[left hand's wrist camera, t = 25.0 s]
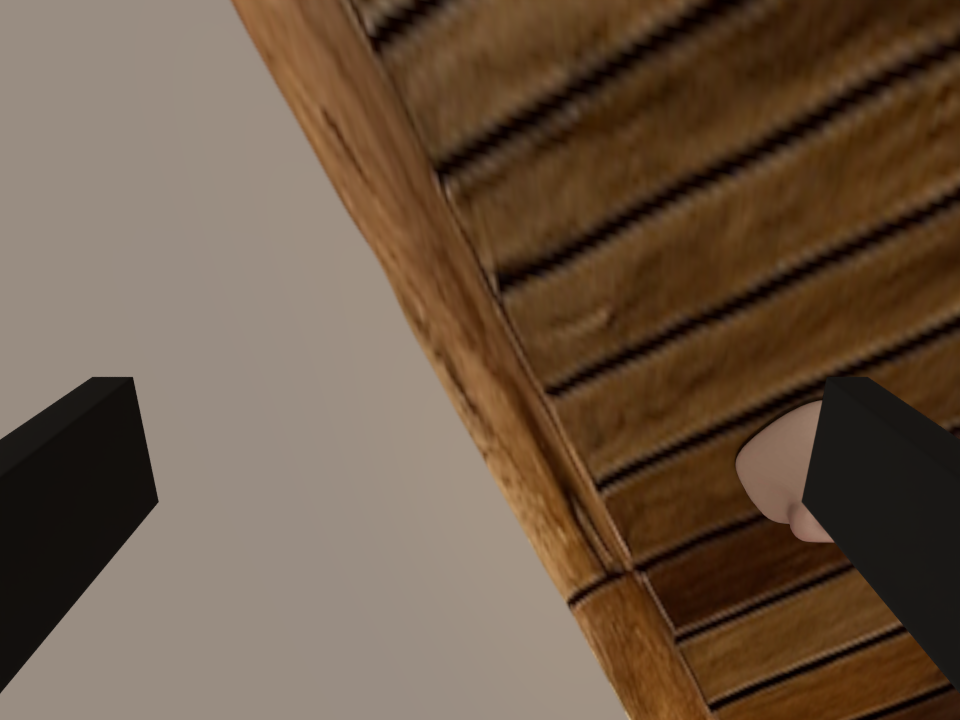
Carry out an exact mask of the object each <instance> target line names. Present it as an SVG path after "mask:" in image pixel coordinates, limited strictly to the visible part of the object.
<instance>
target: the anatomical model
mask: <svg viewBox="0 0 960 720" xmlns="http://www.w3.org/2000/svg"><path fill="white" fill-rule="evenodd" d="M821 404H822V400H820V401H816V402H812V403H809V404H806V405H803V406H801V407H799V408H797V409H795V410H793V411H790V412H789V413H787V414H785V415H784V416H782V417H780V418H779V419H777V420H776V421H774V422H773V423H772V424H770V425H769V426H767V427H766V428H765V429H763V430H762V431H761V432H760V433H758V434H757V435H756V436H755V437H754V438H753V439H751V440H750V441H749V442H748V443H747V444H746V445H745V446H744V447H743V448H742V450H741V451H740V453H739V454H738V456H737V459H736V470H737V473H738V476H739V479H740V481H741V483H742V484H743V486H744V488H745V490H746V492H747V493H748V495H749V497H750V498H751V500H752V501H753V503H754V504H755V505H756V506H757V507H758V508H759V510H760V511H761V512H762V513H763V514H764V515H765V516H766V517H768V518H769V519H771V520H773V521H776V522H779V523H787V524H790V527H791V530H792V532H793V533H794V535H795V536H796V537H797V538H799V539H800V540H803V541H807V542H834V541H833V540H832V538H831V537H830V536H829V535H828V534H827V532H826V531H825V530H824V529H823V527H822V526H821V525H820V524H819V523H818V521H817V520H816V519H815V518H814V517H813V515H812V514H811V513H810V512H809V511H808V509H807V508H806V507H805V506H804V505H803V503H802V502H801V501H802V497H803V492H804V487H805V482H806V477H807V472H808V467H809V463H810V458H811V453H812V448H813V443H814V438H815V433H816V429H817V424H818V419H819V414H820V409H821Z"/></svg>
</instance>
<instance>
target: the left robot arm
mask: <svg viewBox="0 0 960 720" xmlns="http://www.w3.org/2000/svg"><path fill="white" fill-rule="evenodd" d="M158 502H159V501H158V497H157V492H156V487H155V482H154V477H153V472H152V467H151V463H150V458H149V453H148V448H147V443H146V438H145V433H144V429H143V424H142V419H141V414H140V409H139V404H138V400H137V395H136V390H135V385H134V380H133V377H92V378H90V379H89V380H87V381H86V382H84V383H83V384H81V385H80V386H78V387H77V388H75V389H74V390H73V391H71V392H70V393H68V394H67V395H65V396H64V397H62V398H61V399H59V400H58V401H56V402H55V403H53V404H52V405H51V406H49V407H48V408H46V409H45V410H43V411H42V412H40V413H39V414H37V415H36V416H34V417H33V418H31V419H30V420H28V421H27V422H26V423H24V424H23V425H21V426H20V427H18V428H17V429H15V430H14V431H12V432H11V433H9V434H8V435H6V436H5V437H3V438H2V439H1V440H0V693H1V692H2V691H3V689H4V688H5V687H6V686H7V685H8V683H9V682H10V681H11V680H12V679H13V677H14V676H15V675H16V674H17V673H18V671H19V670H20V669H21V668H22V666H23V665H24V664H25V663H26V662H27V660H28V659H29V658H30V657H31V656H32V654H33V653H34V652H35V651H36V650H37V648H38V647H39V646H40V645H41V644H42V642H43V641H44V640H45V639H46V637H47V636H48V635H49V634H50V633H51V631H52V630H53V629H54V628H55V627H56V625H57V624H58V623H59V622H60V621H61V619H62V618H63V617H64V616H65V615H66V613H67V612H68V611H69V610H70V608H71V607H72V606H73V605H74V604H75V602H76V601H77V600H78V599H79V598H80V596H81V595H82V594H83V593H84V592H85V590H86V589H87V588H88V587H89V585H90V584H91V583H92V582H93V581H94V579H95V578H96V577H97V576H98V575H99V573H100V572H101V571H102V570H103V569H104V567H105V566H106V565H107V564H108V563H109V561H110V560H111V559H112V558H113V556H114V555H115V554H116V553H117V552H118V550H119V549H120V548H121V547H122V546H123V544H124V543H125V542H126V541H127V539H128V538H129V537H130V536H131V535H132V533H133V532H134V531H135V530H136V529H137V527H138V526H139V525H140V524H141V523H142V521H143V520H144V519H145V518H146V517H147V515H148V514H149V513H150V512H151V510H152V509H153V508H154V507H155V506H156V505H157V503H158ZM801 502H802V503H803V505H804V506H805V507H806V508H807V509H808V511H809V512H810V513H811V514H812V515H813V517H814V518H815V519H816V520H817V521H818V523H819V524H820V525H821V526H822V527H823V529H824V530H825V531H826V532H827V534H828V535H829V536H830V537H831V538H832V540H833V541H834V542H835V543H836V544H837V546H838V547H839V548H840V549H841V550H842V552H843V553H844V554H845V555H846V556H847V558H848V559H849V560H850V561H851V563H852V564H853V565H854V566H855V567H856V569H857V570H858V571H859V572H860V573H861V575H862V576H863V577H864V578H865V579H866V581H867V582H868V583H869V584H870V585H871V587H872V588H873V589H874V590H875V592H876V593H877V594H878V595H879V596H880V598H881V599H882V600H883V601H884V602H885V604H886V605H887V606H888V607H889V608H890V610H891V611H892V612H893V613H894V615H895V616H896V617H897V618H898V619H899V621H900V622H901V623H902V624H903V625H904V627H905V628H906V629H907V630H908V631H909V633H910V634H911V635H912V636H913V637H914V639H915V640H916V641H917V642H918V644H919V645H920V646H921V647H922V648H923V650H924V651H925V652H926V653H927V654H928V656H929V657H930V658H931V659H932V660H933V662H934V663H935V664H936V665H937V666H938V668H939V669H940V670H941V671H942V673H943V674H944V675H945V676H946V677H947V679H948V680H949V681H950V682H951V683H952V685H953V686H954V687H955V688H956V689H957V691H958V692H959V693H960V439H958V438H957V437H955V436H954V435H952V434H951V433H949V432H948V431H946V430H945V429H943V428H942V427H940V426H939V425H937V424H936V423H935V422H933V421H932V420H930V419H929V418H927V417H926V416H924V415H923V414H921V413H920V412H918V411H917V410H915V409H914V408H912V407H911V406H910V405H908V404H907V403H905V402H904V401H902V400H901V399H899V398H898V397H896V396H895V395H893V394H892V393H890V392H889V391H887V390H886V389H885V388H883V387H882V386H880V385H879V384H877V383H876V382H874V381H873V380H871V379H870V378H868V377H827V380H826V385H825V390H824V395H823V399H822V404H821V409H820V414H819V419H818V424H817V429H816V433H815V438H814V443H813V448H812V453H811V458H810V463H809V467H808V472H807V477H806V482H805V487H804V492H803V497H802V501H801Z"/></svg>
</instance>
